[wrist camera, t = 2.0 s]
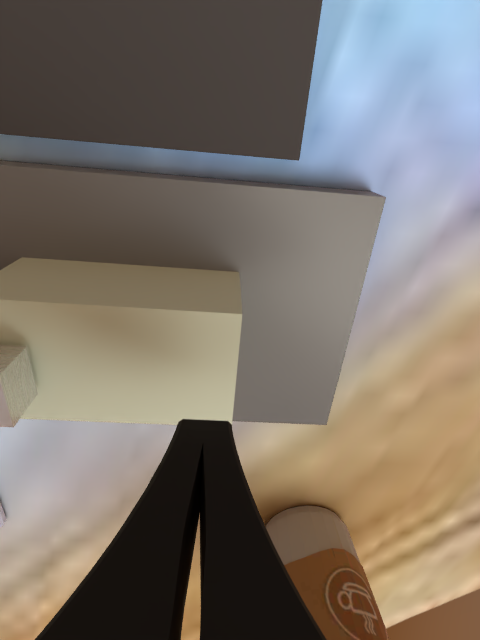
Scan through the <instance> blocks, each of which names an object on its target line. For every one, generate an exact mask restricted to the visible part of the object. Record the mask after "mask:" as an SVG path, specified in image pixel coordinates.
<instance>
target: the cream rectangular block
mask: <svg viewBox="0 0 480 640" xmlns="http://www.w3.org/2000/svg"><path fill="white" fill-rule="evenodd" d="M241 324H242V302H241V289H240V276H239V272H231V271H216V270H202V269H187V268H172V267H158V266H143V265H128V264H113V263H99V262H84V261H69V260H55V259H40V258H25V257H22V258H20V259H18V260H17V261H15V262H13V263H12V264H10V265H8V266H7V267H5V268H3V269H2V270H0V345H13V346H27V350H28V354H29V358H30V363H31V367H32V371H33V375H34V380H35V384H36V388H37V393H38V394H37V396H36V397H35V399H34V400H33V401H32V403H31V404H30V405H29V407H28V408H27V410H26V411H25V412H24V414H23V415H22V416H21V418H20V419H42V420H67V421H92V422H117V423H142V424H167V425H178V422H179V421H181V420H182V419H195V420H218V421H228V422H230V423H231V424H232V418H233V408H234V397H235V387H236V376H237V366H238V355H239V345H240V334H241Z"/></svg>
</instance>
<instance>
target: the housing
mask: <svg viewBox="0 0 480 640" xmlns="http://www.w3.org/2000/svg"><path fill="white" fill-rule="evenodd" d="M385 199H386V197H384V196H382V195H379V194H377V193H374V192H370V191H358V190H346V189H334V188H322V187H311V186H299V185H287V184H275V183H263V182H251V181H239V180H228V179H216V178H204V177H192V176H180V175H168V174H156V173H145V172H133V171H121V170H109V169H97V168H85V167H73V166H62V165H50V164H38V163H26V162H14V161H2V160H0V270H2V269H3V268H5V267H7V266H8V265H10V264H12V263H13V262H15V261H17V260H18V259H20V258H22V257H25V258H40V259H55V260H69V261H84V262H99V263H113V264H128V265H143V266H158V267H172V268H187V269H202V270H216V271H231V272H239V276H240V289H241V302H242V324H241V334H240V345H239V355H238V366H237V376H236V387H235V397H234V408H233V418H232V421H243V422H268V423H292V424H316V425H327V421H328V417H329V413H330V409H331V405H332V402H333V398H334V394H335V390H336V386H337V382H338V379H339V375H340V371H341V367H342V363H343V360H344V356H345V352H346V348H347V344H348V340H349V337H350V333H351V329H352V325H353V321H354V317H355V314H356V310H357V306H358V302H359V298H360V295H361V291H362V287H363V283H364V279H365V275H366V272H367V268H368V264H369V260H370V256H371V253H372V249H373V245H374V241H375V237H376V233H377V230H378V226H379V222H380V218H381V214H382V210H383V207H384V203H385Z"/></svg>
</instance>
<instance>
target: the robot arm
mask: <svg viewBox="0 0 480 640" xmlns="http://www.w3.org/2000/svg"><path fill="white" fill-rule="evenodd" d="M199 513H200V566H201V627H200V640H327V639H326V638H325V636H324V635H323V633H322V631H321V630H320V628H319V626H318V625H317V623H316V621H315V620H314V618H313V616H312V615H311V613H310V611H309V610H308V608H307V606H306V605H305V603H304V601H303V599H302V598H301V596H300V594H299V592H298V590H297V588H296V587H295V585H294V583H293V581H292V579H291V578H290V576H289V574H288V572H287V570H286V568H285V566H284V564H283V562H282V560H281V558H280V556H279V554H278V552H277V550H276V548H275V546H274V544H273V542H272V540H271V538H270V536H269V534H268V531H267V529H266V527H265V525H264V522H263V520H262V518H261V516H260V513H259V511H258V509H257V506H256V504H255V501H254V499H253V496H252V494H251V491H250V488H249V486H248V483H247V480H246V478H245V475H244V472H243V469H242V466H241V463H240V460H239V456H238V453H237V450H236V446H235V442H234V437H233V432H232V424H231V423H230V422H228V421H218V420H195V419H182V420H181V421H179V422H178V425H177V428H176V431H175V433H174V435H173V438H172V440H171V442H170V445H169V447H168V449H167V451H166V453H165V455H164V457H163V459H162V461H161V463H160V465H159V466H158V468H157V470H156V472H155V473H154V475H153V477H152V479H151V481H150V482H149V484H148V486H147V488H146V489H145V491H144V493H143V494H142V496H141V498H140V499H139V501H138V502H137V504H136V505H135V507H134V509H133V510H132V512H131V513H130V515H129V516H128V518H127V520H126V521H125V523H124V524H123V526H122V527H121V529H120V530H119V532H118V533H117V535H116V536H115V538H114V539H113V540H112V542H111V543H110V545H109V546H108V547H107V549H106V550H105V552H104V553H103V554H102V556H101V557H100V558H99V560H98V561H97V563H96V564H95V565H94V567H93V568H92V569H91V571H90V572H89V573H88V575H87V576H86V577H85V578H84V580H83V581H82V582H81V584H80V585H79V586H78V587H77V589H76V590H75V591H74V593H73V594H72V595H71V596H70V598H69V599H68V600H67V601H66V603H65V604H64V605H63V606H62V608H61V609H60V610H59V611H58V613H57V614H56V615H55V616H54V618H53V619H52V620H51V621H50V622H49V624H48V625H47V626H46V627H45V628H44V630H43V631H42V632H41V633H40V634H39V635H38V636H37V638H36V639H35V640H181V630H182V622H183V614H184V606H185V600H186V594H187V588H188V582H189V575H190V569H191V563H192V557H193V551H194V544H195V538H196V532H197V526H198V520H199ZM5 522H6V517H5V514H4V511H3V508H2V505H1V503H0V527H2V526H3V525H4V524H5Z"/></svg>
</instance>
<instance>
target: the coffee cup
mask: <svg viewBox="0 0 480 640" xmlns="http://www.w3.org/2000/svg"><path fill="white" fill-rule="evenodd" d="M266 529H267V531H268V534H269V536H270V538H271V540H272V542H273V544H274V546H275V548H276V550H277V552H278V554H279V556H280V558H281V560H282V562H283V564H284V566H285V568H286V570H287V572H288V574H289V576H290V578H291V579H292V581H293V583H294V585H295V587H296V588H297V590H298V592H299V594H300V596H301V598H302V599H303V601H304V603H305V605H306V606H307V608H308V610H309V611H310V613H311V615H312V616H313V618H314V620H315V621H316V623H317V625H318V626H319V628H320V630H321V631H322V633H323V635H324V636H325V638H326V639H327V640H390V639H389V636H388V633H387V631H386V628H385V625H384V623H383V620H382V617H381V615H380V612H379V609H378V606H377V604H376V601H375V598H374V596H373V593H372V590H371V588H370V585H369V582H368V580H367V577H366V574H365V572H364V569H363V567H362V565H361V564H360V561H359V559H358V556H357V553H356V550H355V548H354V545H353V542H352V540H351V537H350V534H349V532H348V529H347V527H346V525H345V524H344V523H343V522H342V521H341V520H340V518H339V517H338V516H337V515H336V514H335V513H334V512H332V511H330V510H328V509H326V508H322V507H318V506H298V507H294V508H290V509H286V510H284V511H282V512H280V513H278V514H277V515H275V516H274V517H273V518H271V519H270V521H269V522H268V523H267V525H266Z"/></svg>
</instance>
